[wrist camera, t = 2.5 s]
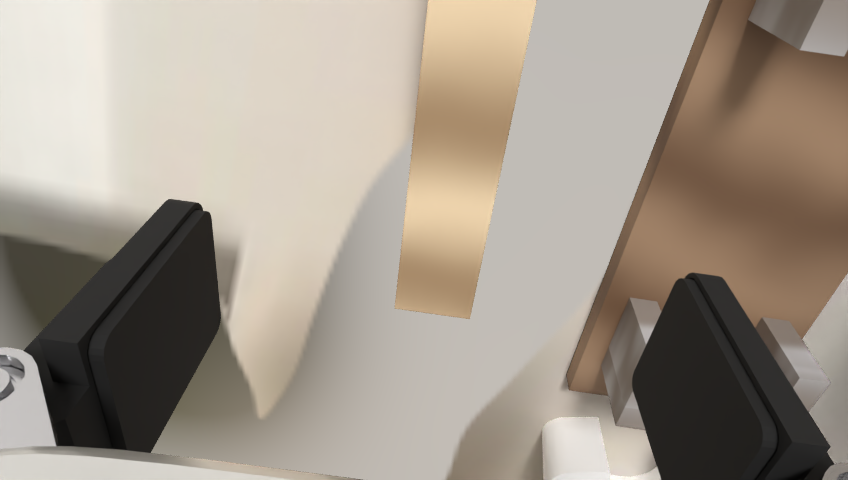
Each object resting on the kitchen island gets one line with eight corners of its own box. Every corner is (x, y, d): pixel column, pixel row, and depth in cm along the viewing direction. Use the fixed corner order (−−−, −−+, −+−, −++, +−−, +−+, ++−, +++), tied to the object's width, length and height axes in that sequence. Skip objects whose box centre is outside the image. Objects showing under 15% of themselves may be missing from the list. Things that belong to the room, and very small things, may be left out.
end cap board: (798, -231, 15) (900, -261, 12) (1125, -183, 15) (1332, -198, 12) (566, 374, 29) (579, 451, 25) (740, 400, 29) (779, 480, 25)
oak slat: (456, -187, 17) (450, -199, 13) (556, -173, 17) (574, -182, 13) (405, 250, 26) (394, 308, 22) (471, 260, 26) (469, 319, 22)
